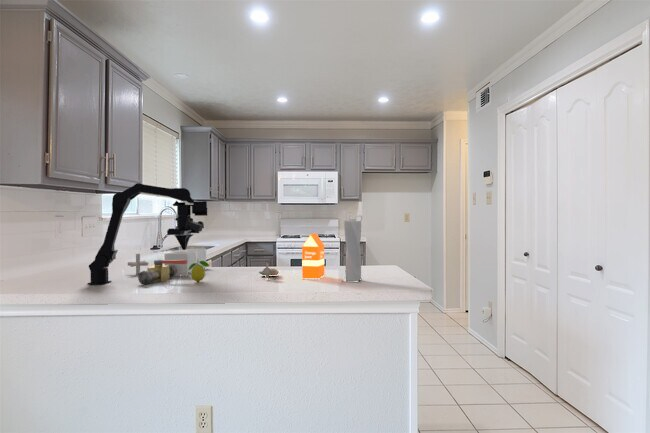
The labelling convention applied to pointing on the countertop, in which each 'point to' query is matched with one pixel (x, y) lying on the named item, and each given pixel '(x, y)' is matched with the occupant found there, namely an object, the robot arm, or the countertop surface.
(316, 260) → the orange juice
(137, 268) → the pipe connector
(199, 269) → the lemon
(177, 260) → the lever
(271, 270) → the valve
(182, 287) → the countertop surface
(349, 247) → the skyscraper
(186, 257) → the storage container
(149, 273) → the valve body
